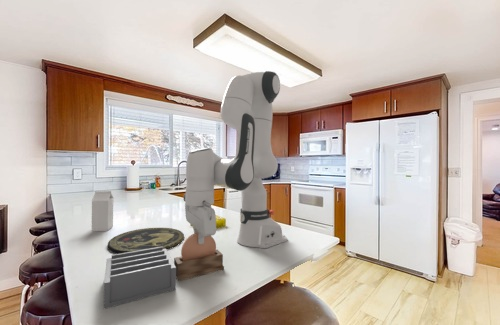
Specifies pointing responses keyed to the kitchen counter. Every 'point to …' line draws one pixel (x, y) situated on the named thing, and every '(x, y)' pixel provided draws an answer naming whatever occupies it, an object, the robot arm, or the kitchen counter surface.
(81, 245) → the kitchen counter surface
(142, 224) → the kitchen counter surface
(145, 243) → the decorative plate
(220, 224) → the element tile
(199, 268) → the walnut plate stand
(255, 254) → the kitchen counter surface
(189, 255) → the terracotta plate
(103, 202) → the milk carton
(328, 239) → the kitchen counter surface
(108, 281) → the charcoal dish rack
